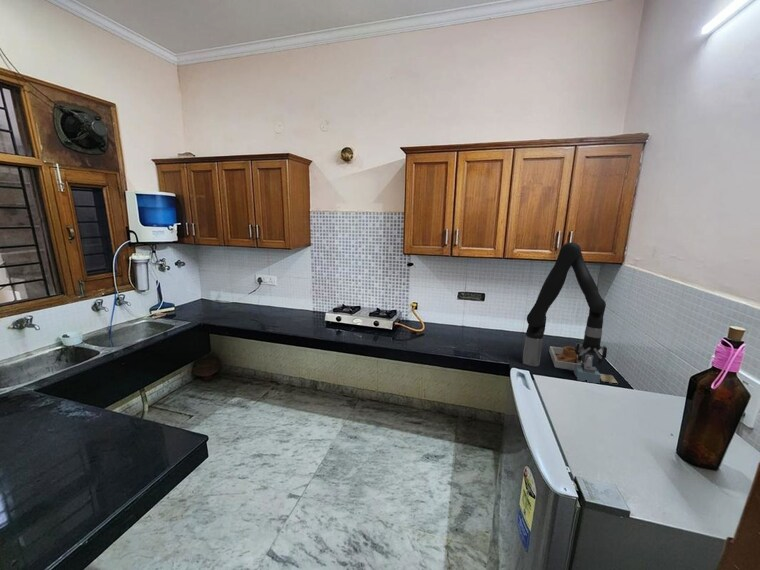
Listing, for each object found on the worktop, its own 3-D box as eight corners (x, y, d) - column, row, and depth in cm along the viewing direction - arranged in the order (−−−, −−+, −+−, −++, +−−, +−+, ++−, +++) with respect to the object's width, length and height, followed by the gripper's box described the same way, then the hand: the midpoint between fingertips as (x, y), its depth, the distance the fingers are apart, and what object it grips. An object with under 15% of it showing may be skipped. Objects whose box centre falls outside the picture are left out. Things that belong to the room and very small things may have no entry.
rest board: (602, 381, 168) (602, 380, 168) (597, 374, 177) (597, 373, 176) (617, 384, 166) (617, 383, 166) (612, 376, 174) (612, 375, 174)
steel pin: (583, 378, 172) (586, 356, 169) (581, 375, 175) (584, 354, 172) (590, 379, 170) (594, 357, 168) (589, 376, 174) (592, 355, 171)
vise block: (577, 380, 170) (579, 368, 168) (573, 372, 179) (575, 360, 178) (599, 383, 166) (601, 371, 165) (594, 375, 175) (596, 363, 174)
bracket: (566, 355, 201) (568, 345, 200) (580, 360, 194) (581, 350, 193) (549, 361, 193) (551, 350, 191) (563, 366, 185) (564, 355, 184)
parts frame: (554, 367, 185) (555, 360, 184) (549, 351, 207) (549, 346, 206) (583, 371, 180) (584, 365, 179) (574, 355, 202) (575, 349, 201)
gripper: (579, 335, 167) (575, 363, 170) (611, 338, 162) (606, 368, 165) (576, 330, 174) (572, 358, 177) (606, 334, 169) (602, 362, 172)
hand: (588, 362), depth 171 cm, fingers open, 8 cm apart
